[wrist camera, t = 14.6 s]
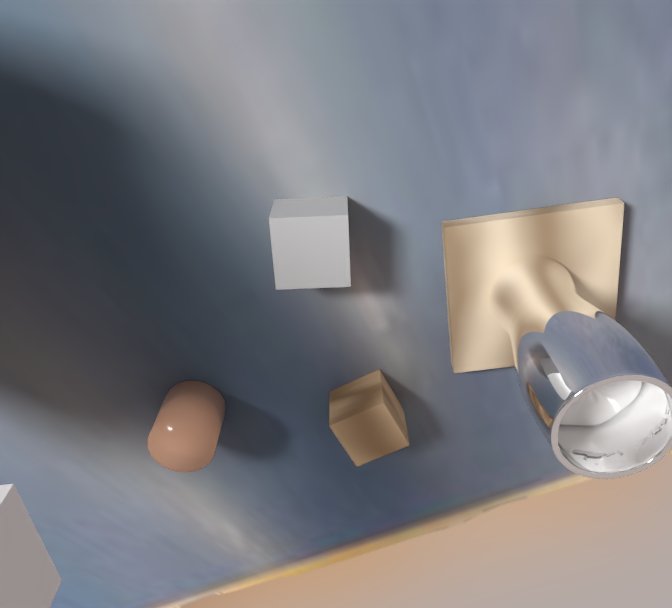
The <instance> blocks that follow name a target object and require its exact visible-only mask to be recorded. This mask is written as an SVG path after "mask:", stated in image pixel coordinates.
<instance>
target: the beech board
mask: <svg viewBox="0 0 672 608" xmlns="http://www.w3.org/2000/svg"><path fill="white" fill-rule="evenodd" d="M623 215H624V202H623V201H621V200H620V199H618V198H609V199H602V200H595V201H588V202H580V203H573V204H566V205H558V206H551V207H544V208H537V209H529V210H522V211H515V212H508V213H500V214H493V215H486V216H479V217H471V218H464V219H457V220H449V221H442V237H443V251H444V266H445V280H446V295H447V310H448V324H449V339H450V353H451V365H452V369H453V372H454V373H461V372H469V371H478V370H486V369H494V368H502V367H511V366H515V364H514V358H513V352H512V345H511V340H510V337H509V335H508V333H507V332H506V331H505V330H504V329H503V328H502V327H501V326H500V325H499V324H498V323H497V322H496V321H495V319H494V318H493V316H492V314H491V311H490V307H489V293H490V290H491V287H492V285H493V283H494V281H495V279H496V278H497V277H498V275H499V274H500V273H501V272H502V271H503V270H504V269H505V268H507V267H508V266H510V265H511V264H513V263H515V262H517V261H520V260H522V259H526V258H532V257H543V258H548V259H552V260H554V261H556V262H558V263H560V264H561V265H563V266H564V267H565V268H566V269H567V270H568V271H569V273H570V274H571V276H572V278H573V280H574V283H575V286H576V289H577V291H578V293H579V295H580V296H581V297H582V298H583V299H585V300H586V301H587V302H589V303H591V304H592V305H594V306H595V307H597V308H598V309H600V310H601V311H603V312H604V313H606V314H607V315H609V316H610V317H611V318H613V319H614V320H615V318H616V305H617V292H618V279H619V267H620V254H621V241H622V228H623Z"/></svg>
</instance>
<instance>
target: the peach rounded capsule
mask: <svg viewBox="0 0 672 608" xmlns="http://www.w3.org/2000/svg"><path fill="white" fill-rule="evenodd" d="M225 411H226V405H225V401H224V399H223V397H222V395H221V394H220V393H219V392H218V390H216V389H215V388H214V387H212V386H211V385H209V384H206V383H204V382H200V381H184V382H181V383H178V384H176V385H174V386H173V387H172V388H171V389H170V390H169V391H168V392H167V394H166V396H165V399H164V401H163V403H162V406H161V408H160V411H159V413H158V415H157V418H156V420H155V422H154V425H153V427H152V430H151V432H150V434H149V437H148V443H147V444H148V449H149V452H150V454H151V455H152V457H153V458H154V459H155V460H156V461H157V462H158V463H159V464H160V465H162V466H164V467H166V468H168V469H170V470H174V471H178V472H192V471H196V470H199V469H202V468H203V467H205V466H206V465H208V464H209V463H210V461H211V460H212V458H213V456H214V453H215V449H216V446H217V442H218V438H219V434H220V430H221V427H222V423H223V419H224V415H225Z"/></svg>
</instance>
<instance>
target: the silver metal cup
mask: <svg viewBox="0 0 672 608" xmlns="http://www.w3.org/2000/svg"><path fill="white" fill-rule="evenodd" d="M489 307H490V311H491V314H492V316H493V318H494V319H495V321H496V322H497V323H498V324H499V325H500V326H501V327H502V328H503V329H504V330H505V331H506V332H507V333H508V335H509V337H510V340H511V345H512V352H513V358H514V364H515V370H516V374H517V378H518V382H519V386H520V389H521V391H522V394H523V396H524V399H525V401H526V404H527V406H528V408H529V410H530V412H531V414H532V416H533V418H534V419H535V421H536V423H537V425H538V426H539V428H540V430H541V431H542V433H543V435H544V436H545V438H546V439H547V441H548V443H549V444H550V446H551V447H552V449H553V452H554V454H555V456H556V457H557V459H558V460H559V461H560V462H561V463H562V464H563V465H564V466H565V467H566V468H567V469H569V470H571V471H572V472H574V473H576V474H579V475H582V476H585V477H589V478H596V479H612V478H619V477H624V476H628V475H631V474H634V473H637V472H640V471H642V470H644V469H646V468H648V467H650V466H651V465H653V464H655V463H656V462H657V461H659V460H660V459H661V458H663V457H664V456H665V455H666V454H667V453H668V452H669V451H670V450H671V449H672V387H671V385H670V384H669V382H668V381H667V379H666V378H665V376H664V375H663V373H662V372H661V370H660V369H659V367H658V366H657V365H656V363H655V362H654V360H653V359H652V358H651V356H650V355H649V354H648V353H647V351H646V350H645V349H644V348H643V346H642V345H641V344H640V343H639V342H638V341H637V340H636V339H635V338H634V337H633V336H632V335H631V334H630V332H629V331H628V330H626V329H625V328H624V327H623V326H622V325H620V324H619V323H618V322H617V321H615V320H614V319H613V318H611V317H610V316H609V315H607V314H606V313H604V312H603V311H601V310H600V309H598V308H597V307H595V306H594V305H592V304H591V303H589V302H587V301H586V300H585V299H583V298H582V297H581V296H580V295H579V293H578V291H577V289H576V286H575V283H574V280H573V278H572V276H571V274H570V273H569V271H568V270H567V269H566V268H565V267H564V266H563V265H561V264H560V263H558V262H556V261H554V260H552V259H548V258H543V257H532V258H526V259H522V260H520V261H517V262H515V263H513V264H511V265H510V266H508V267H507V268H505V269H504V270H503V271H502V272H501V273H500V274H499V275H498V277H497V278H496V279H495V281H494V283H493V285H492V287H491V290H490V293H489Z"/></svg>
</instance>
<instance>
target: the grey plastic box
mask: <svg viewBox="0 0 672 608" xmlns="http://www.w3.org/2000/svg"><path fill="white" fill-rule="evenodd" d="M269 226H270V236H271V246H272V256H273V265H274V275H275V285H276V290H280V289H306V288H331V287H351V278H350V250H349V222H348V201H347V196H344V197H321V198H297V199H274V203H273V206H272V209H271V213H270V216H269Z"/></svg>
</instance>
